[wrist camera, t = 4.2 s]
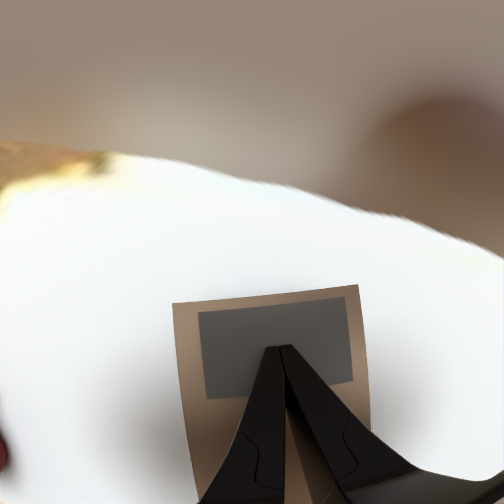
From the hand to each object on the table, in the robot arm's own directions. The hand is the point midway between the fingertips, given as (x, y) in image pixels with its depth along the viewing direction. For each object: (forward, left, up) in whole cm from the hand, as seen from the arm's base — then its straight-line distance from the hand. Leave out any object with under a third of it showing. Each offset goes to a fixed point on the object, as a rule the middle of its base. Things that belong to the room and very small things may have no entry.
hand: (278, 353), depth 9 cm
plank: (-3, -3, -5) cm, 6 cm away
